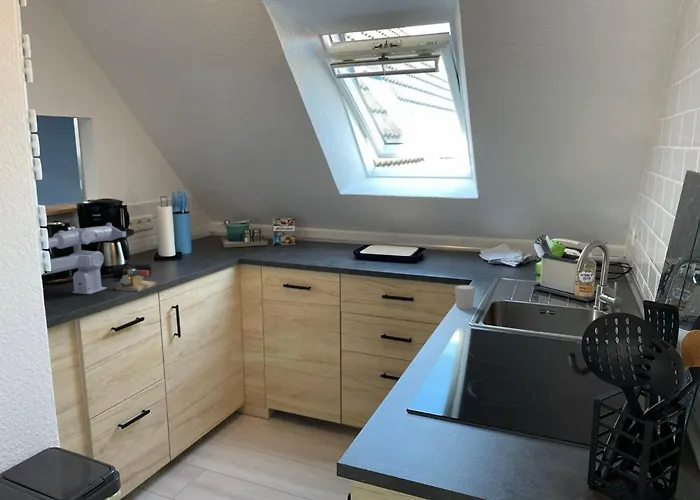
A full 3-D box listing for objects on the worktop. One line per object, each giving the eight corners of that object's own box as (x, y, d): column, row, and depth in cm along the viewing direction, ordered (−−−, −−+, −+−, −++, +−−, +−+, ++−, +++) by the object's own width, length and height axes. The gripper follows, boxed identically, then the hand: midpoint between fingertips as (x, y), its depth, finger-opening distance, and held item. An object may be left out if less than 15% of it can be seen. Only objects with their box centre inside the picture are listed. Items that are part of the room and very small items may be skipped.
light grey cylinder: (450, 305, 188) (450, 286, 187) (465, 302, 192) (465, 283, 190) (463, 310, 182) (464, 290, 181) (478, 307, 186) (479, 287, 185)
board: (137, 291, 208) (137, 288, 208) (115, 289, 211) (115, 287, 211) (157, 284, 219) (157, 281, 219) (136, 282, 222) (136, 280, 222)
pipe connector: (146, 267, 226) (108, 269, 223) (147, 280, 227) (109, 282, 224) (150, 262, 238) (114, 264, 234) (151, 274, 238) (115, 276, 235)
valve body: (129, 287, 210) (128, 278, 209) (118, 286, 212) (118, 277, 211) (145, 281, 220) (145, 272, 219) (135, 281, 221) (135, 271, 220)
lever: (126, 275, 214) (126, 270, 214) (131, 273, 217) (130, 268, 216) (145, 276, 211) (145, 271, 211) (150, 275, 214) (149, 270, 214)
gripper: (113, 225, 208) (139, 222, 220) (85, 222, 213) (112, 220, 226) (113, 243, 209) (139, 240, 221) (85, 240, 214) (112, 236, 227)
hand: (126, 231), depth 224 cm, fingers open, 7 cm apart
